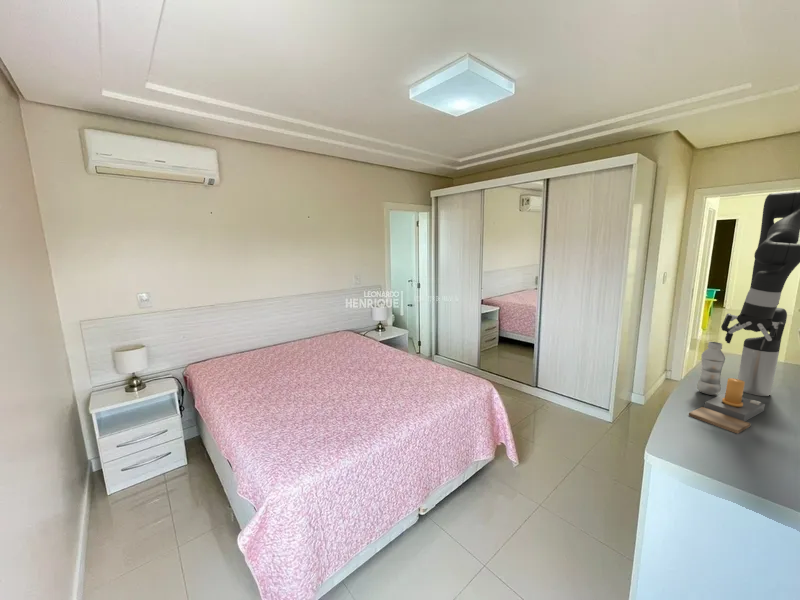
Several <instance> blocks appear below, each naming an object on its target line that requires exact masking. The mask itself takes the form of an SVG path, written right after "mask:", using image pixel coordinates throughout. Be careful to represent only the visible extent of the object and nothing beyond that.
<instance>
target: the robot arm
mask: <svg viewBox="0 0 800 600" xmlns="http://www.w3.org/2000/svg"><path fill="white" fill-rule="evenodd" d="M775 219H779V220H777V221H776V222H775ZM760 226H761V227H760V234H759V240H758V243H757V248H756V250H755V252H754V262H753V267H752V275H751V282H750V288H749V291H748V292H747V294H746V297H745V299H744V302H743V304H742V307H741V310H740V314H739V315H735V314H731V313H728V312H727V313H726V315H725V318H724V319H723V321H722V324H721V331H723V332H726V333H725V337H724V340H725V342H726V344H729V345H730V344H731V342H732V339H733V335H734V333H736V332H738V331H740V330H742V329H743V330H745V331H751V332H755V333H758V332H761V334H762V335H763V336H757V337H749V338H745V339H744V340H743V341H744V342H743V345H742V353H741V358H740V364H739V370H738V375H737V379H739V380H742V381H744V382H745V384H744V390H743V393H745V394H750V395H754V396H759V397H770V396H771V395H772V390H773V386H774V380H775V375H776V371H777V367H778V366H777V365H778V361H779V354H780V349H781V344H782V343H781V342H782V337H783V333H784V329H785V327H786V323H787V318H788V312H787V310H786V309H785V308H783V307H778V305H779V304H780V300H781V297H782V291H783V289H784V286H785V284H786V281H787V280H788V278H789V276H790V275H791V273H792V272H793V271H794V270H795V269H796V268H797V266H799V264H800V244H799V243H798V242H799V238H800V190H796V191H795V190H794V191H792V190H791V191H780V192H771V193H769V194H768V195H767V196H766V197H765V199H764V204H763V210H762V218H761V225H760ZM735 320H737V323H735V324H734V325H733V326H730V327H729V325H730V322H734V321H735ZM769 395H770V396H769Z"/></svg>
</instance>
